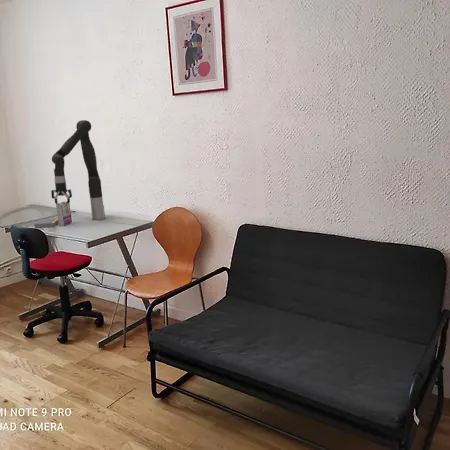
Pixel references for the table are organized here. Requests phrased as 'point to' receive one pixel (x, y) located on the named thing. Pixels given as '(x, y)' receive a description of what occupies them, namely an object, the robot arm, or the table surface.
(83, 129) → the robot arm
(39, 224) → the loading dock
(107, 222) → the table surface
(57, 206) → the candy bar box
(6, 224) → the table surface
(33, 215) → the table surface
